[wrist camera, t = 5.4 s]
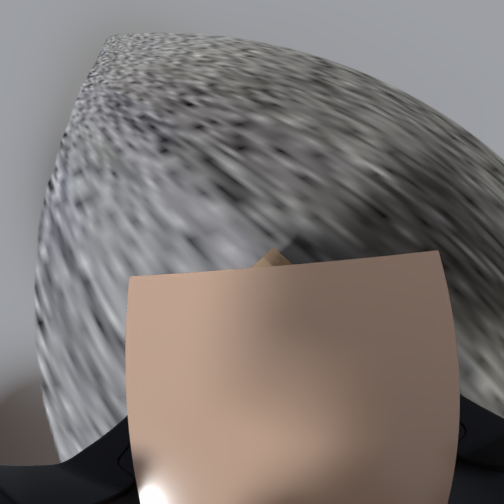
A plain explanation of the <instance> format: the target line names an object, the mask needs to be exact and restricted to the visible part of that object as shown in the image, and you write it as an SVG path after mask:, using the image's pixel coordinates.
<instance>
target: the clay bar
mask: <svg viewBox="0 0 504 504" xmlns="http://www.w3.org/2000/svg"><path fill="white" fill-rule="evenodd" d="M126 396H127V412H128V425H129V435H130V444H131V452H132V459H133V466H134V472H135V478H136V483H137V489H138V494H139V498H140V503H141V504H448V499H449V495H450V491H451V486H452V481H453V475H454V469H455V462H456V455H457V446H458V434H459V416H460V382H459V364H458V352H457V342H456V334H455V326H454V320H453V313H452V308H451V302H450V297H449V292H448V287H447V283H446V278H445V274H444V270H443V266H442V262H441V258H440V255H439V251H438V250H436V251H427V252H418V253H408V254H399V255H389V256H380V257H370V258H360V259H349V260H339V261H328V262H317V263H306V264H295V265H283V266H271V267H259V268H246V269H234V270H220V271H207V272H193V273H179V274H164V275H148V276H132V277H130V279H129V290H128V303H127V320H126Z"/></svg>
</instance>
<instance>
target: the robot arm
mask: <svg viewBox="0 0 504 504" xmlns="http://www.w3.org/2000/svg"><path fill="white" fill-rule="evenodd" d="M0 504H141V503H140V498H139V494H138V489H137V483H136V478H135V472H134V466H133V459H132V452H131V444H130V435H129V425H128V415H127V416H126V417H125V418H124V419H123V420H122V421H121V422H120V423H118V424H117V425H116V426H115V427H114V428H113V429H112V430H110V431H109V432H108V433H106V434H105V435H104V436H102V437H101V438H100V439H98V440H97V441H96V442H94V443H93V444H91V445H90V446H89V447H87V448H86V449H84V450H83V451H81V452H80V453H78V454H77V455H76V456H74V457H72V458H71V459H69V460H67V461H65V462H62V463H59V464H54V465H40V466H39V465H37V466H36V465H35V466H15V465H0ZM448 504H504V418H502V417H500V416H498V415H496V414H494V413H492V412H490V411H488V410H487V409H485V408H483V407H481V406H479V405H477V404H476V403H474V402H472V401H470V400H469V399H467V398H465V397H464V396H462V395H461V394H460V416H459V434H458V446H457V455H456V462H455V469H454V475H453V481H452V486H451V491H450V495H449V499H448Z"/></svg>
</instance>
